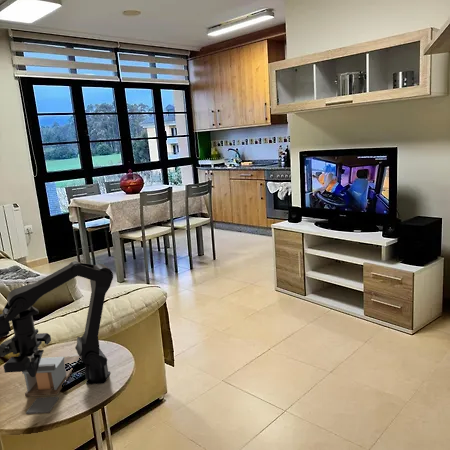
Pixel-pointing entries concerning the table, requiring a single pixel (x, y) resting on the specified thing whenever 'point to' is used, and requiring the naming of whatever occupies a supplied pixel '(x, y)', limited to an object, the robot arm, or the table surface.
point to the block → (44, 381)
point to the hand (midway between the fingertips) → (33, 376)
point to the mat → (42, 405)
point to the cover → (48, 365)
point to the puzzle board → (51, 391)
